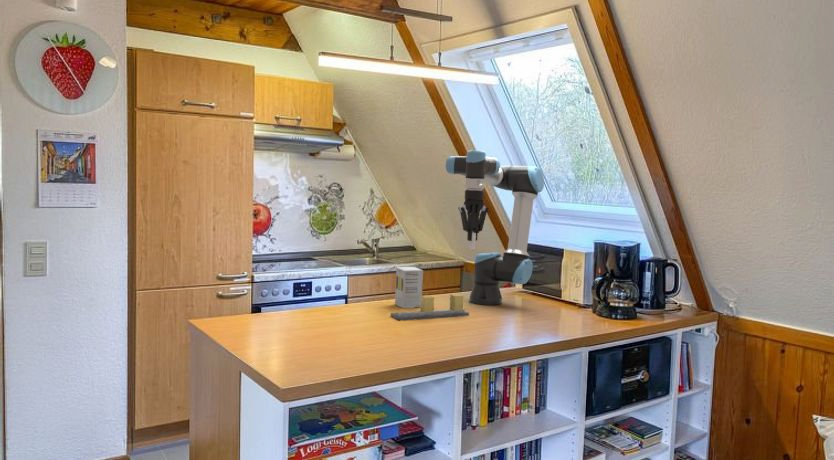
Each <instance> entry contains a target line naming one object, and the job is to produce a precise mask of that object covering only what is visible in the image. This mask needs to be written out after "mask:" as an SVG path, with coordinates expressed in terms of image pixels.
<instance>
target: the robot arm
mask: <svg viewBox="0 0 834 460" xmlns="http://www.w3.org/2000/svg"><path fill="white" fill-rule="evenodd" d="M500 163H501V162H500V161H499V159H497V158H496V157H493V156H487V153H486V151H485V150H479V149H478V150H473V149H470V150H468V151H467V152H466V155H464V156H461V155H451V156H448V157H447V159H446V161H445V170H446V172H447V173H448V174H450V175H451V174H453V175H461V176H465V181H464V182H465V184H464V188H465V191H464V201H463V205H461V206H459V207H458V211H459V214H460V218H461V224H462V230H463V231H465V232H466V233H467V234H466V236H467V238H466V239H467V241H468V249H469V250H476V241H478V235H479V233H480V232H482V231H483V229H484V224H485V221H486V217H487V213H488V211H489V207H487V206H486V205H485V204H484V198H485V191H484V189H485V183H486V184H487V185H489V186H491V187H494V188H496V189H497V188H498V189H500V190H503V191H504V190H505V191H509V192H510V191H511V192H512V193H511V195H513V197H514V199H513V200H514V201H513V207H512V215H511V221H510V229H509V235H508V236H509V238H508V243H507V249H506V250H505V251H503V255H502V254H501V252H498V251H497V252H496V251H495V252H484V253H483V252H481V253H477V254H476V255H475V257H474V272H473V276H474V277H473V287H472V289H471V291H470V294H469V301H468V302H470V303H473V304H477V305H484V306H496V305H501V304H502V303H503V296H502V293H501V289H500V283H507V284H513V285H524V284H527V282H528V281H529V280H530V278H531V277H532V273H533V269H534V265H533V264H534V263H533V261H532V260H531V259H530V254H529V253H528V252H527V250H528V245H529V244H528V243H529V236H530V229H531V228H530V227H531V221H532V214H533V207H534V201H535V199H536V198H538V196H539V195H538V193H541V192H542V191H543V189H544V187H545V186H544V185H545V178H544V174H543V171H542V169H541V168H540V167H539V166H535V165H533V166H532V165H501V164H500ZM501 255H502V256H501Z"/></svg>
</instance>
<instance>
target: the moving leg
mask: <svg viewBox="0 0 834 460" xmlns="http://www.w3.org/2000/svg"><path fill="white" fill-rule="evenodd" d="M434 306H435V297H434V296H432V295H422V296H421V308H420V311H423V312H434V310H435V309H434V308H435V307H434Z"/></svg>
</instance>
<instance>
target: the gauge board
mask: <svg viewBox="0 0 834 460" xmlns="http://www.w3.org/2000/svg"><path fill="white" fill-rule="evenodd" d="M464 297H465V296H464V295H462V294H460V293H456V294H450V297H449V308H448V309H446V308H445V309H434V312H423V311H421V310H416V311H402V312H391V313H390V317H391V316H392V318H393V317H394V318H393V319H395V320H397V321H400V320H403V321H412V320H413V321H414V319H417V320H428V319H441V318H455V317H467V316H470V312H468V311H466V310H465V308H464ZM400 322H401V321H400Z"/></svg>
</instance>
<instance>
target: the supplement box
mask: <svg viewBox="0 0 834 460" xmlns="http://www.w3.org/2000/svg"><path fill="white" fill-rule="evenodd" d="M423 279H424V270H423V269H420V268H418V267H416V266H403V267H402V266H399V267H398V266H397V267H396V272H395V290H394V291H395V293H394V305H396V306H398V307H399V308H401V307H402V309H403V308H404V309H415V308H414V307H421V296H423V281H424V280H423Z"/></svg>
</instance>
